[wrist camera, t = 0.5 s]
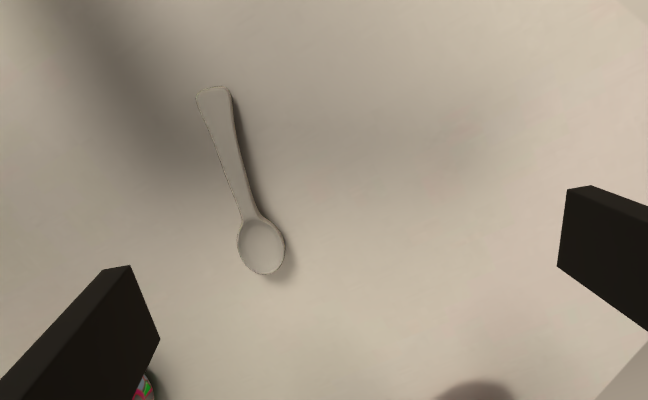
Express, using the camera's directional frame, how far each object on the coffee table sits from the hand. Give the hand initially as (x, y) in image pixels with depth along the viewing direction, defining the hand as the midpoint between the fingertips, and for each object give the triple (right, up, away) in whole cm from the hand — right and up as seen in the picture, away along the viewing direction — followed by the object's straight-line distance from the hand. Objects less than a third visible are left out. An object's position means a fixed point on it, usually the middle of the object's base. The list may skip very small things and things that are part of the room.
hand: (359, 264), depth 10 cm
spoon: (-6, +3, +11) cm, 13 cm away
